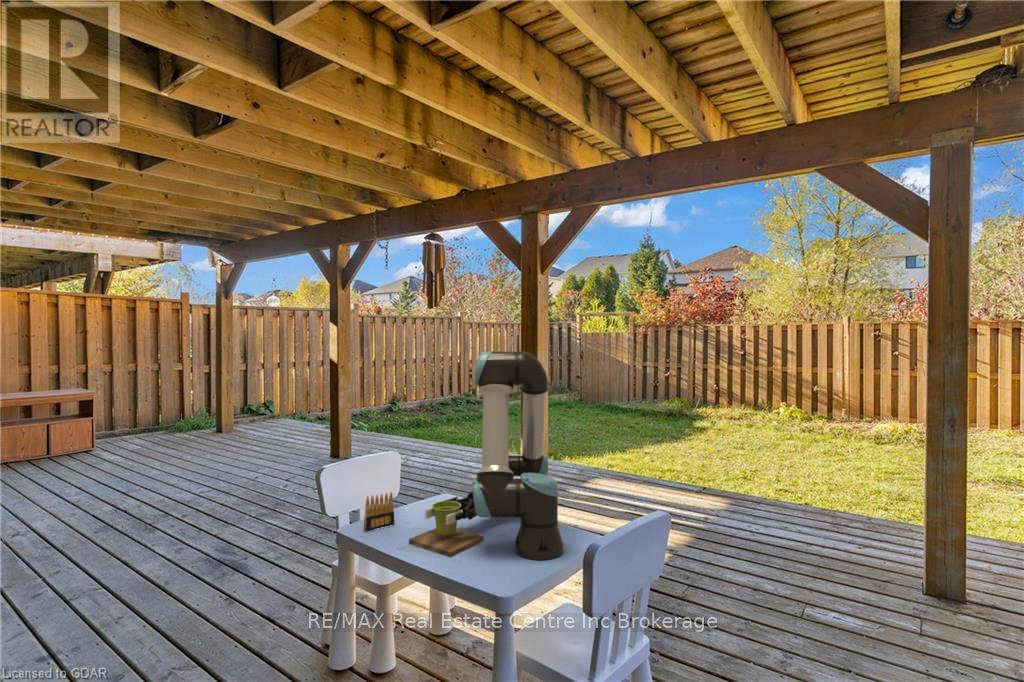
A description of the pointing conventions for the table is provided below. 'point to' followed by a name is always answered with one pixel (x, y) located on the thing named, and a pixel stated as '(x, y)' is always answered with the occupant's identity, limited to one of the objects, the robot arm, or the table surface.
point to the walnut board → (446, 541)
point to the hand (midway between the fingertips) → (436, 517)
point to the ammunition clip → (378, 513)
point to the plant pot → (440, 516)
